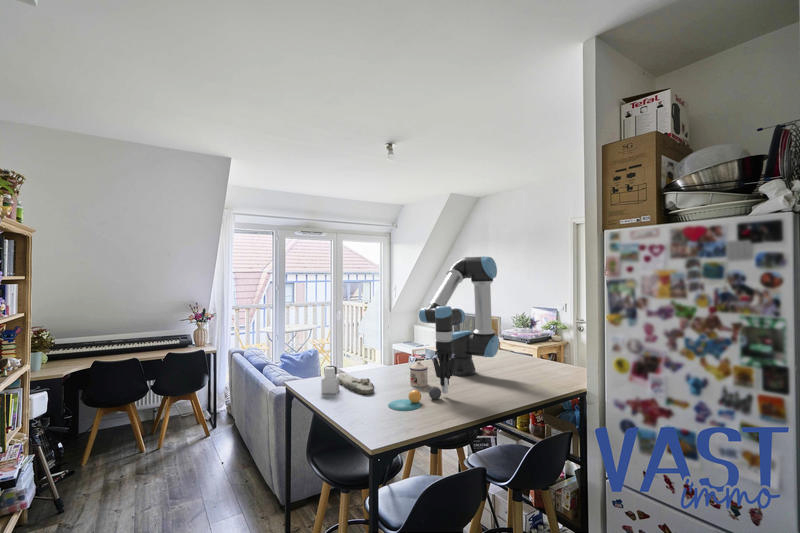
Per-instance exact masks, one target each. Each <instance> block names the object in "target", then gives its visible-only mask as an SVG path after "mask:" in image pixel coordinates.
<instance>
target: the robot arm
mask: <svg viewBox="0 0 800 533" xmlns="http://www.w3.org/2000/svg"><path fill="white" fill-rule="evenodd" d="M497 275H498V268H497V264H496V260H494V258H493V257H491V256H484V255H483V256H466V257H463V258H460V259H458V260H457V261H456V262H454V263H453V264H452V265H451V266H450V267H449V269H448V270H447V272H446V276H445V278H444V280H443V281H442V282H441V285H440V287H439V288H438V290H437V291H436V293H435V294H434V297H433V298H432V300H431V301H430V303H429V305H428V306H427V307H421V308H420V310H419V312H418V317H419V321H421V322H422V323H424V324H435V340H436V341H435V350H436V351H435V355H434V356H431V357H430V359H431V360H432V362H433V368H434V373H435V376H436V378H439V379H440V381H439V382H440V386H441V394H442V393H443V394H444V395H445V394H449V385H450V379H451V377H453V376H460V377H466V376H473V375H475V374H476V367H475V363H474V360H473V356H477V357H483V358H494V357H495V356H497V353H498V351H499V348H500V338H499V336H498V335H496V331H495V330H494V329H493V328H492V327H493V324H492V323H493V321H492V296H491V294H492V292H491V291H492V290H491V285H492V283H493V282H494V279H495V278H497ZM465 279H471V280H470V281H471V284H473V285H474V286H473V287H474V288H473V290H474V292H473V294H474V318H475V319H474V320H475V329H474V330H473V331H472V330H460V331H455V332H453V326H457V325H458V326H459V325H460V324H462V323H464V322H465V320H466V313H465V311H464V310H463V309H461V308H452V307H451V306H448V303H449V301H450V299H451V298H452V296H453V294H454V293H455V291H456V289H457V287H458V286H459V284H461V283H462V282H463V280H465Z"/></svg>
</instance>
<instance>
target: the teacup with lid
mask: <svg viewBox="0 0 800 533" xmlns="http://www.w3.org/2000/svg"><path fill="white" fill-rule="evenodd" d="M428 369H429V368H428V365H426V364H424V363H421V361H419V360H417V361H416V363H415V364H412V365H410V367H409V372H410V373H409V374H410V381H409V382H410V386H412V387H415V388H422V387H423V388H424V387H427V386H428Z"/></svg>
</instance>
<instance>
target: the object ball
mask: <svg viewBox="0 0 800 533" xmlns="http://www.w3.org/2000/svg"><path fill="white" fill-rule="evenodd" d="M408 399H409V400H410V401H411V402H412V403H418V402H420V401H421V400H422V394H421V392H420V391H419V390H417V389H412V390H411V391H410V392H408Z"/></svg>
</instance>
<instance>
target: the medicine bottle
mask: <svg viewBox="0 0 800 533" xmlns="http://www.w3.org/2000/svg"><path fill="white" fill-rule="evenodd" d="M337 370H338V368H337V366H335V365H327V366H325V367H324V368H323V377H322V378H321V394H322V395H336V394H337V393H338V392H339V391H340V383H339V374H338V373H337V372H338V371H337Z"/></svg>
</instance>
